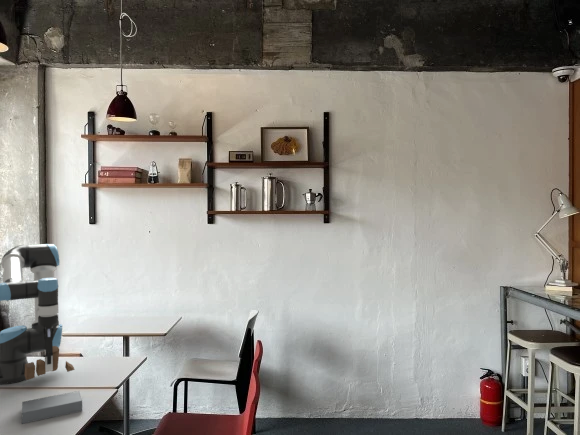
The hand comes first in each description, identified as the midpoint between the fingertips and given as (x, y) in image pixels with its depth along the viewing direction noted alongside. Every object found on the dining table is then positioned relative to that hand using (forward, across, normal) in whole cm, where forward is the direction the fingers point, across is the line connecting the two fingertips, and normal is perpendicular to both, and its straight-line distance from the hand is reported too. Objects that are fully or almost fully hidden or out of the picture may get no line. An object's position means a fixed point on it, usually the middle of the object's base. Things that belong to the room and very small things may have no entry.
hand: (48, 367), depth 185 cm
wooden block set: (+2, +2, 0) cm, 3 cm away
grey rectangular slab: (+11, +20, 0) cm, 22 cm away
